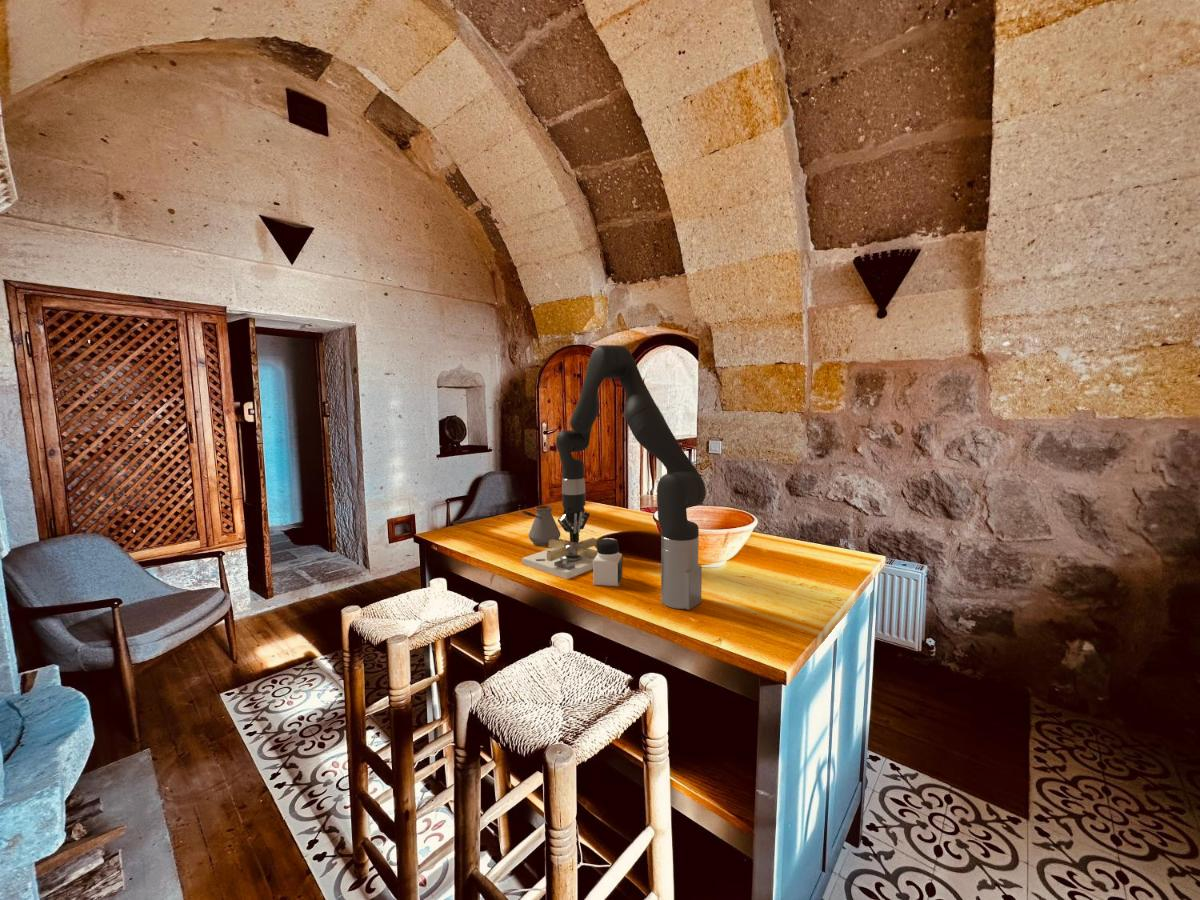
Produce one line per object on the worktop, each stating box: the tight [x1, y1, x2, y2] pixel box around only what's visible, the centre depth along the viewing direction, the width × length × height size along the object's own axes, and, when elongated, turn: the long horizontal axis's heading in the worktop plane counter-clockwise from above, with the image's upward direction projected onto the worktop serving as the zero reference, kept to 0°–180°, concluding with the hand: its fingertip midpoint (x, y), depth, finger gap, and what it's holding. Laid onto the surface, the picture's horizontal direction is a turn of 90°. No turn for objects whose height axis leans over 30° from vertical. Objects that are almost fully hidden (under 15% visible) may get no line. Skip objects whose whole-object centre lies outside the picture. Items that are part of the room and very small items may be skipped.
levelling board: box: [521, 547, 594, 580], centre depth 155 cm, size 20×19×4 cm
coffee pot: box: [518, 505, 561, 546], centre depth 172 cm, size 21×12×15 cm, turn 159°
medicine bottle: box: [592, 537, 623, 587], centre depth 139 cm, size 7×7×12 cm
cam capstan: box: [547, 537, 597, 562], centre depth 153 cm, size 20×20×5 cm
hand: (574, 543), depth 162 cm, fingers closed
